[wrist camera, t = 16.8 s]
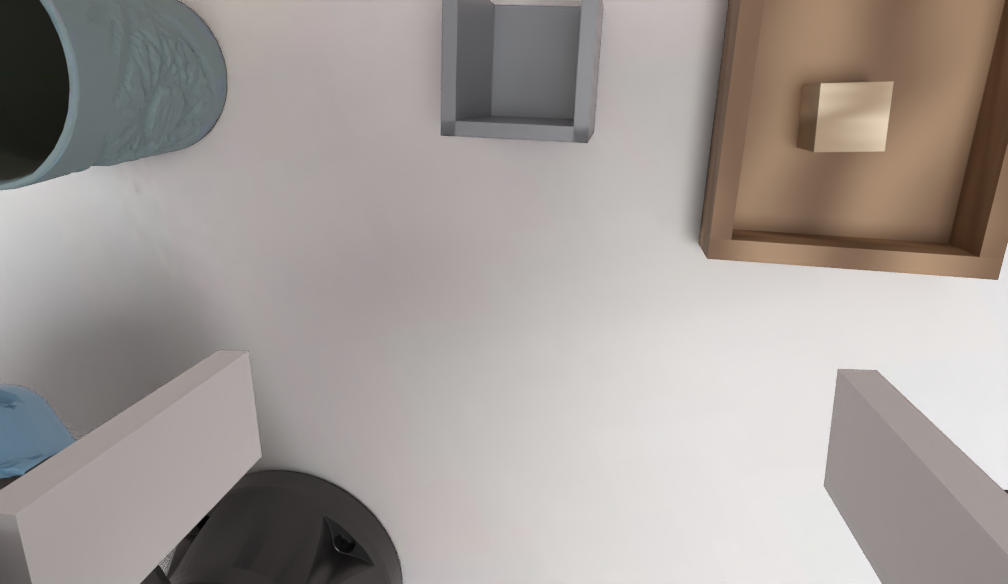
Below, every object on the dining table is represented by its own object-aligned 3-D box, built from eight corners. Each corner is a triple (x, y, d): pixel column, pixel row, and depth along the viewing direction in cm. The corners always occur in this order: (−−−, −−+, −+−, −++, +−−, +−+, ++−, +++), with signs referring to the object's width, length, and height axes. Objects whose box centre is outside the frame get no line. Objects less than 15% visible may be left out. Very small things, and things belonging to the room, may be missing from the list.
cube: (813, 152, 31) (820, 83, 30) (796, 147, 34) (802, 84, 33) (884, 151, 30) (893, 81, 29) (861, 146, 33) (869, 82, 32)
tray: (698, 243, 36) (707, 258, 33) (737, -67, 32) (751, -86, 28) (960, 262, 34) (997, 279, 31) (1038, -65, 30) (1091, -85, 27)
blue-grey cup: (266, 131, 38) (118, 145, 27) (123, 188, 40) (-69, 223, 29) (189, -53, 36) (-9, -123, 25) (43, 19, 38) (-198, -15, 27)
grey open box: (481, 126, 36) (440, 135, 28) (485, 6, 34) (442, -24, 26) (593, 132, 35) (587, 143, 27) (603, 8, 34) (599, -22, 25)
